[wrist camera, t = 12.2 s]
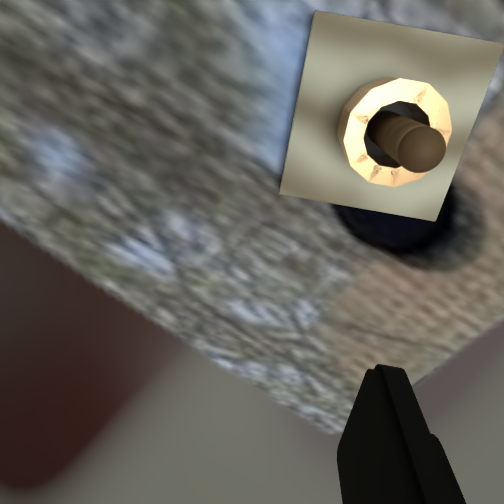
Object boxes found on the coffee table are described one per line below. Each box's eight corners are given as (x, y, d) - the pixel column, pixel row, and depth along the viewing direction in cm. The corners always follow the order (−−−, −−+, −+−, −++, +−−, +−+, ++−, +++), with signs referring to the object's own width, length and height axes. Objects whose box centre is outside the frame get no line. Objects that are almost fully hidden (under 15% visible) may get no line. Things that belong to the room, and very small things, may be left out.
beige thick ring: (351, 70, 29) (361, 71, 25) (444, 87, 29) (467, 90, 25) (328, 164, 32) (334, 176, 28) (412, 178, 32) (429, 193, 28)
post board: (313, 13, 30) (333, -23, 18) (491, 45, 30) (630, 30, 18) (279, 187, 36) (277, 247, 24) (427, 213, 36) (499, 286, 24)
